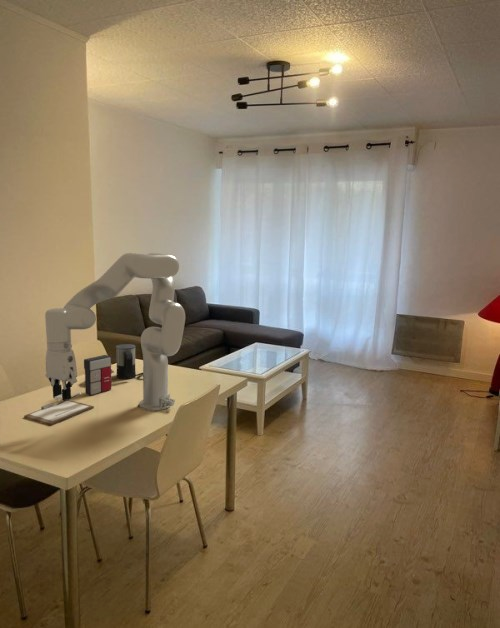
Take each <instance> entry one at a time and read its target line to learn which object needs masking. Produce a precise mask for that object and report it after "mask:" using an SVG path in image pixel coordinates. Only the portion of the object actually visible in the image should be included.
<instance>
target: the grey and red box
mask: <svg viewBox="0 0 500 628" xmlns="http://www.w3.org/2000/svg"><path fill="white" fill-rule="evenodd" d="M83 369H84V385H85V388H84V389H85V391H84V392H85V395H87V396H94V395H98V394H100V393H104V392H108V391H111V390H112V374H111V369H112V356H111V355H108V354H104V355H99V356H98V355H97V356H94V357H90V358H89V357H88V358H85V359H83Z"/></svg>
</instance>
